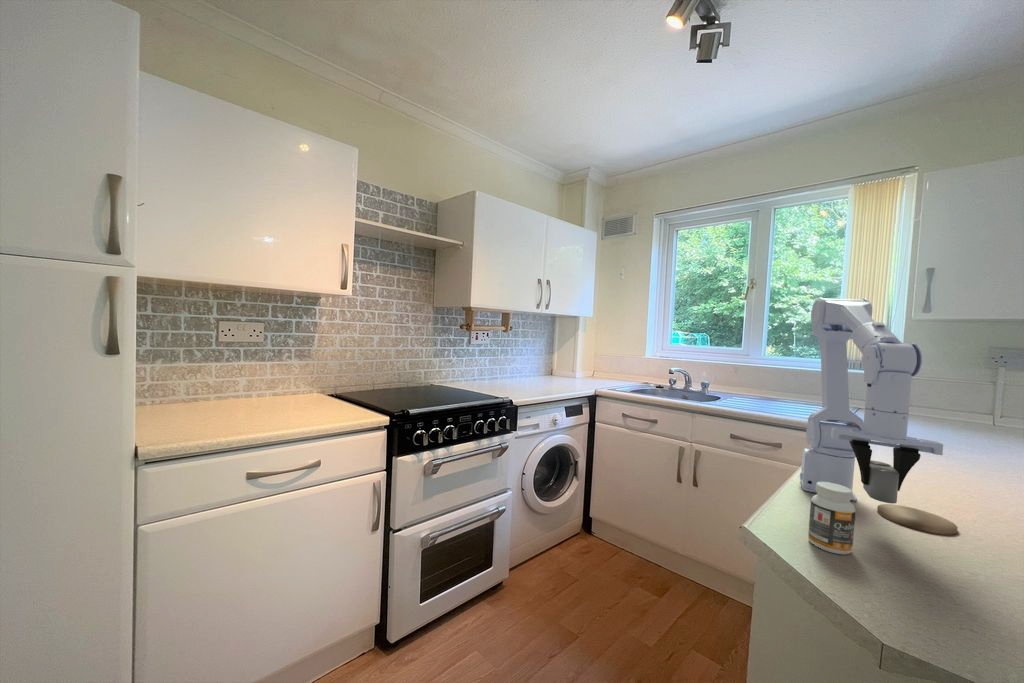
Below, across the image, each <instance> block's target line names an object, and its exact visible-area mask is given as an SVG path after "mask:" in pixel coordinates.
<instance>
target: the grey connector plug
mask: <svg viewBox="0 0 1024 683" xmlns="http://www.w3.org/2000/svg"><path fill="white" fill-rule="evenodd" d="M898 482H899V473H898V472H897V471H896V470H895V469H894V468H893V466H892V465H891V464H889V463H885V462H883V461H877V460H870V467H869V484H868V485H865V484H863V483H862V484H863V486H862V488H863V489H864V491H865V492H866V493H867V495H868V497H870V499H873V500H875V501H878V502H882V503H884V504H892V505H895V504H897V502H898V492H899V491H898Z"/></svg>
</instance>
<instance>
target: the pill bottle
mask: <svg viewBox="0 0 1024 683" xmlns="http://www.w3.org/2000/svg"><path fill="white" fill-rule="evenodd" d="M816 491H817V493H816V494H815V495H812V497H811V499H810V509H809V510H810V511H809V520H808V521H809V524H808V533H807V534H808V540H809V542H810V543H811V544H812V545H813V544H814V545H813V546H815V547H817V548H818V547H819V548H818V549H820V548H821V550H823V551H825V552H829V553H832V554H837V555H849V554H851V553H852V552H853V545H854V533H855V521H856V508H855V506H854V504H853V503H852V502H851V501H852V500H851V499H852V491H853V489H852V490H851V489H849V488H847V487H845V486H842V485H839V484H835V483H830V482H817V483H816Z"/></svg>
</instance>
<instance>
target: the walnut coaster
mask: <svg viewBox="0 0 1024 683" xmlns="http://www.w3.org/2000/svg"><path fill="white" fill-rule="evenodd" d="M876 510H877V513H878V514H879V515H880V516H881V517H883V518H884V519H887V520H888V521H891V522H892V523H895V524H897V525H900V526H902V527H906V528H910V529H913V530H917V531H921V532H925V533H929V534H933V535H942V536H943V535H944V536H954V535H956V534H957V533H958V526H957V525H956V524H955V523H954V522H953V521H950V520H948V519H946V518H944V517H942V516H940V515H936V514H934V513H931V512H929V511H926V510H923V509H922V510H921V509H918V508H914V507H910V506H906V505H899V504H893V503H883V504H878V505H877V509H876Z"/></svg>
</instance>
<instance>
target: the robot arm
mask: <svg viewBox="0 0 1024 683" xmlns="http://www.w3.org/2000/svg"><path fill="white" fill-rule="evenodd" d="M810 324H811V332H812V334H811V335H812V336H814V337H816V338H818V339H819V345H820V346H819V347H820V363H821V365H820V368H821V370H820V371H821V373H820V374H821V401H822V402H821V403H822V408H820V409H818V410H816V411H814V412H812V413H810V415H809V416H808V418H807V426H806V429H805V435H806V436H805V437H806V443H807V445H808V446H809V447H810V448H803V450H802V456H801V467H800V468H801V470H800V472H799V481H800V484H801V488H802V490H803V491H806V492H811V493H816V494H817V491H816V483H817V482H830V483H835V484H839V485H842V486H845V487H847V488H849V489H851V490H852V499H851V500H850V501H854V502H857V501H858V498H857V497H856V495H855V494H854V492H853V485H854V475H855V474H854V472H855V462H856V461H857V463H858V464H857V465H858V467H859V472H860V482H861V483H862V484H865V485H868V484H869V467H870V460H871V459H872V453H873V449H872V448H871V445H874V446H875V445H876V446H880V447H881V446H882V447H889V448H892V452H893V453H892V454H893V455H892V456H893V460H892V461H893V462H892V463H893V466H892V467H893V468H894V469H895V470H896V471H897V472H898V473H899V482H898V492H899V491H900V490H901V487H902V485H903V482H904V480H905V478H906V477H907V475H908V473H909V472H910V470H912V468H913V467H914V466H915V465H916V464H917V463H918V462H919V461H920V459H921V452H923V453H929V454H933V455H936V456H938V455H939V456H943V455H944V454H943V453H944V452H943V451H944V444H943V442H940V441H935V440H929V439H922V438H916V437H912V436H907V435H908V426H909V425H908V424H909V412H910V402H911V401H910V400H911V392H912V391H911V390H912V380H913V379H912V378H913V377H916V376H917V375H918V373H919V372H920V371H921V369H922V364H923V354H922V351H921V349H920V348H919V346H918V345H917V344H916V343H914V342H911V343H910V342H909V343H908V342H902V341H901V340H900V339H899V338H898V337H897V336H896V335H895V334H894V333H893V332H892V331H891V329H890V328H889V327H887V326H886V324H885V323H884V322H880V321H877V322H876V321H874V320H873V305H872V303H871V301H870V300H869V299H868V298H860V299H859V298H858V299H857V298H856V299H855V298H824V297H818V298H817V299H815V301H814V302H813V305H812V308H811V313H810ZM851 340H852V342H853V343H854V345H855V346H856V348H857V349H858V350H859V351H860V353H861V354H862V358H861V361H862V362H861V363H862V369H863V380H864V381H863V382H864V383H866V391H865V392H866V394H865V403H864V404H865V405H864V416H863V419H862V417H860V416H859V415H857V414H856V413H854V412H853V411H852V410H850V395H849V394H850V391H849V389H850V388H849V372H848V370H849V369H848V347H847V343H848V341H851ZM919 452H920V453H919ZM900 492H901V491H900Z"/></svg>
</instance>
